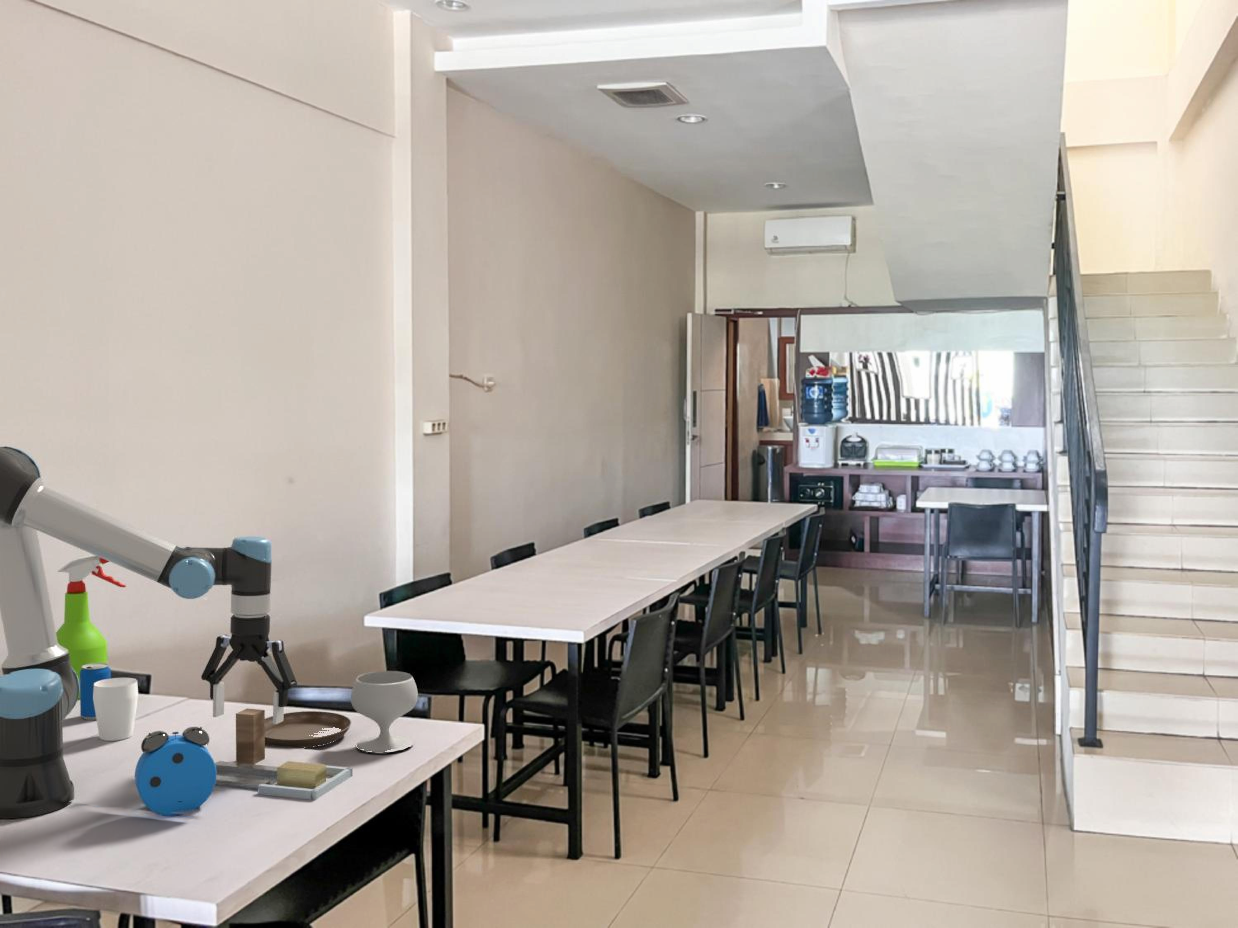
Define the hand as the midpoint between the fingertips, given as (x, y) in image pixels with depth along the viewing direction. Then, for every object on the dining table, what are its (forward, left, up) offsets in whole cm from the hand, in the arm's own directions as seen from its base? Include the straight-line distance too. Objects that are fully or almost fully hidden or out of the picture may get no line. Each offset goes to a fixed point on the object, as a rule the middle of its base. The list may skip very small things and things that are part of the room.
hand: (248, 719), depth 229 cm
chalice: (+19, -20, -10) cm, 30 cm away
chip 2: (-10, -20, -9) cm, 24 cm away
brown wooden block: (0, 0, -10) cm, 9 cm away
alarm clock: (-27, -2, -10) cm, 28 cm away
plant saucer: (+20, 0, -10) cm, 23 cm away
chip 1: (-10, -16, -9) cm, 20 cm away
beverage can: (+21, +54, -10) cm, 58 cm away
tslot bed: (-10, -4, -9) cm, 14 cm away
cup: (+9, +39, -10) cm, 41 cm away
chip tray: (-10, -19, -9) cm, 23 cm away
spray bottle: (+39, +71, -10) cm, 81 cm away
